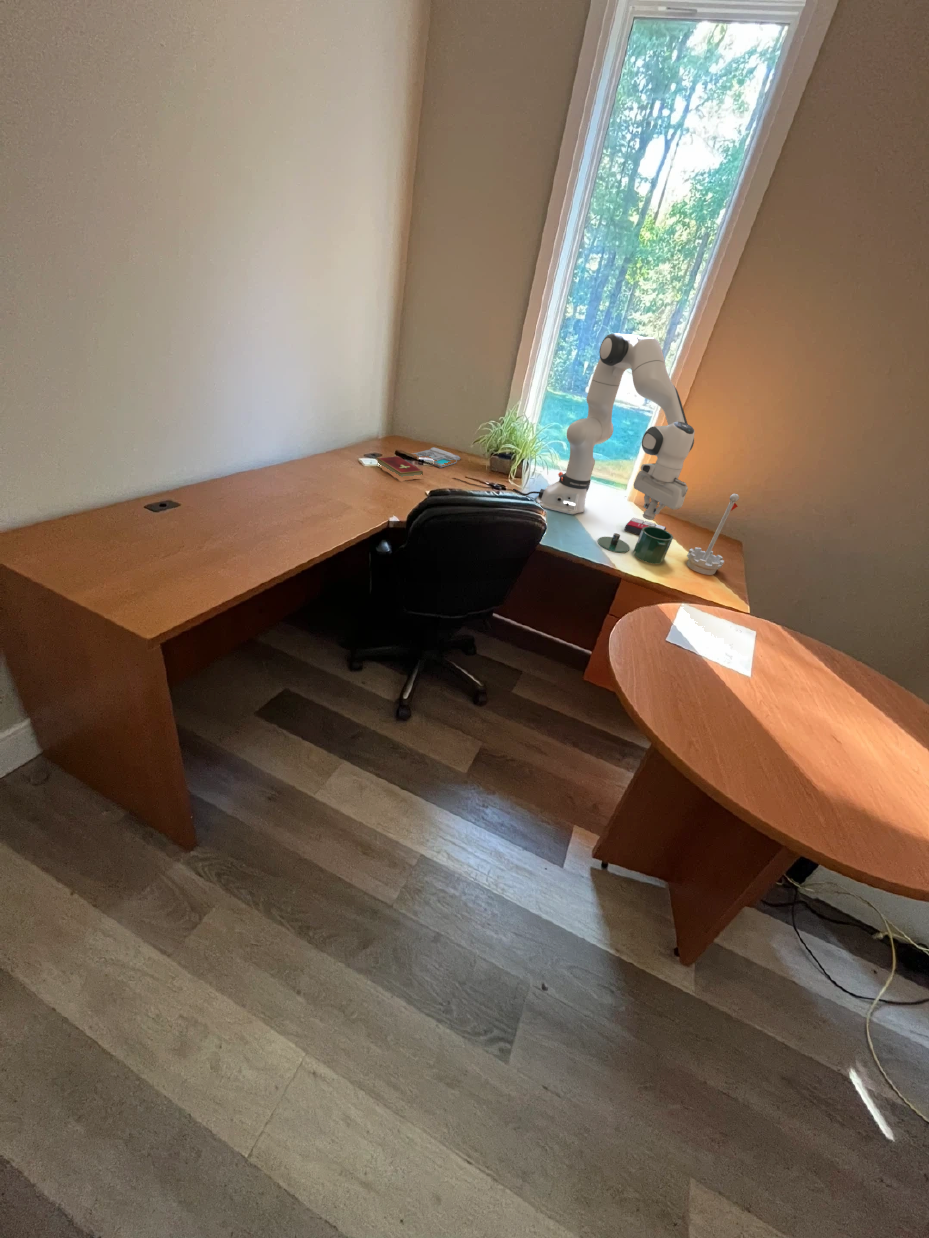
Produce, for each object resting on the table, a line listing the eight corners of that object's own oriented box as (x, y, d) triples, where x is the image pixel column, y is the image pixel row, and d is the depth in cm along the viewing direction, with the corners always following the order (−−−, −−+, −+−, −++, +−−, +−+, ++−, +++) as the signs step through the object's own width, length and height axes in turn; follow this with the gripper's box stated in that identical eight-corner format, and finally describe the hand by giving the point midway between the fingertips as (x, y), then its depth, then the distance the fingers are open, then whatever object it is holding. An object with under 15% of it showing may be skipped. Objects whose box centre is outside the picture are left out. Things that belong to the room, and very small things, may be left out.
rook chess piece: (641, 518, 176) (649, 497, 171) (642, 514, 179) (650, 493, 175) (654, 521, 175) (662, 500, 170) (654, 517, 178) (663, 496, 174)
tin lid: (599, 551, 190) (603, 538, 187) (595, 537, 200) (598, 525, 197) (631, 556, 190) (636, 544, 187) (625, 542, 200) (629, 530, 197)
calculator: (632, 516, 215) (667, 525, 210) (629, 525, 218) (663, 535, 212) (626, 523, 207) (661, 533, 202) (623, 532, 210) (658, 543, 204)
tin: (637, 565, 184) (647, 540, 178) (628, 545, 198) (637, 521, 192) (667, 570, 184) (678, 545, 178) (656, 550, 198) (666, 526, 192)
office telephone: (435, 445, 264) (465, 456, 256) (434, 450, 266) (465, 460, 258) (408, 452, 247) (440, 463, 239) (407, 457, 249) (439, 468, 241)
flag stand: (705, 578, 183) (742, 502, 166) (677, 561, 192) (709, 488, 175) (725, 573, 190) (763, 499, 173) (697, 557, 198) (730, 486, 181)
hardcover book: (397, 463, 238) (398, 455, 236) (422, 479, 226) (423, 470, 224) (376, 466, 231) (376, 457, 229) (400, 481, 219) (401, 472, 217)
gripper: (695, 484, 162) (678, 522, 170) (650, 462, 176) (636, 498, 184) (683, 485, 159) (666, 524, 167) (638, 463, 173) (625, 500, 181)
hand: (650, 510), depth 176 cm, fingers closed on rook chess piece, 3 cm apart
